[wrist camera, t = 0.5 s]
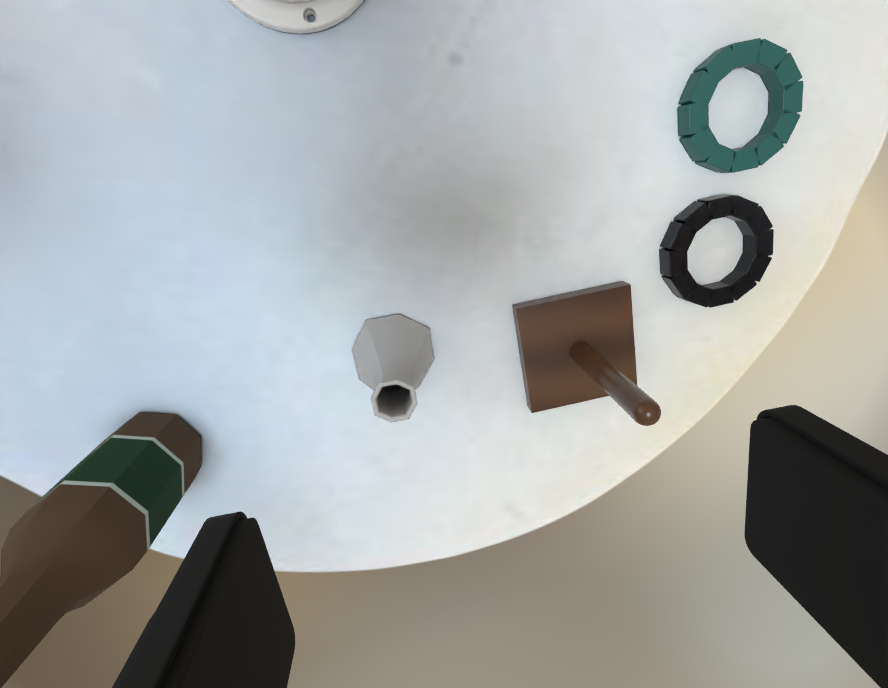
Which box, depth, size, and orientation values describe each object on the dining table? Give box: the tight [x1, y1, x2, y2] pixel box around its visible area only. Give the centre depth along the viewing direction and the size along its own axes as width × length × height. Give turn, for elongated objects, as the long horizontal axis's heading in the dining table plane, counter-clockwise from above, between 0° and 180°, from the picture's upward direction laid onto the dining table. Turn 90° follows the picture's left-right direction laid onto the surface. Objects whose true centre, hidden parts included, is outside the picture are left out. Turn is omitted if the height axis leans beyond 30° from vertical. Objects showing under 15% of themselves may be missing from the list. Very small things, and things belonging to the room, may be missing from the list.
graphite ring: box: [660, 195, 773, 307], centre depth 42 cm, size 9×9×2 cm
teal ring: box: [678, 38, 803, 173], centre depth 39 cm, size 9×9×2 cm
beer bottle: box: [0, 412, 201, 688], centre depth 32 cm, size 8×8×24 cm
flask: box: [352, 314, 434, 422], centre depth 38 cm, size 7×7×10 cm
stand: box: [513, 281, 661, 426], centre depth 38 cm, size 10×10×14 cm
